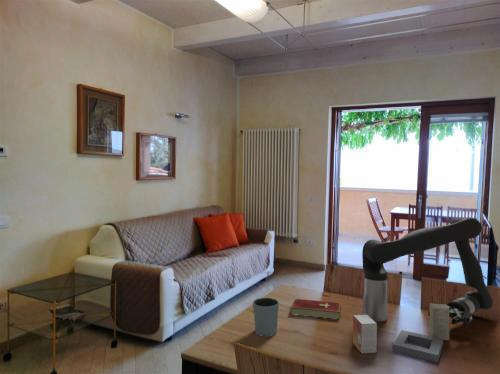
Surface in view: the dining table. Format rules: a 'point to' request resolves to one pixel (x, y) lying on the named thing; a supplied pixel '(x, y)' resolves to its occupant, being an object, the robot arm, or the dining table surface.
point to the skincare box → (439, 321)
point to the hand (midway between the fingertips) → (440, 317)
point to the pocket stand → (415, 351)
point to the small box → (364, 333)
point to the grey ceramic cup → (266, 316)
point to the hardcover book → (316, 308)
